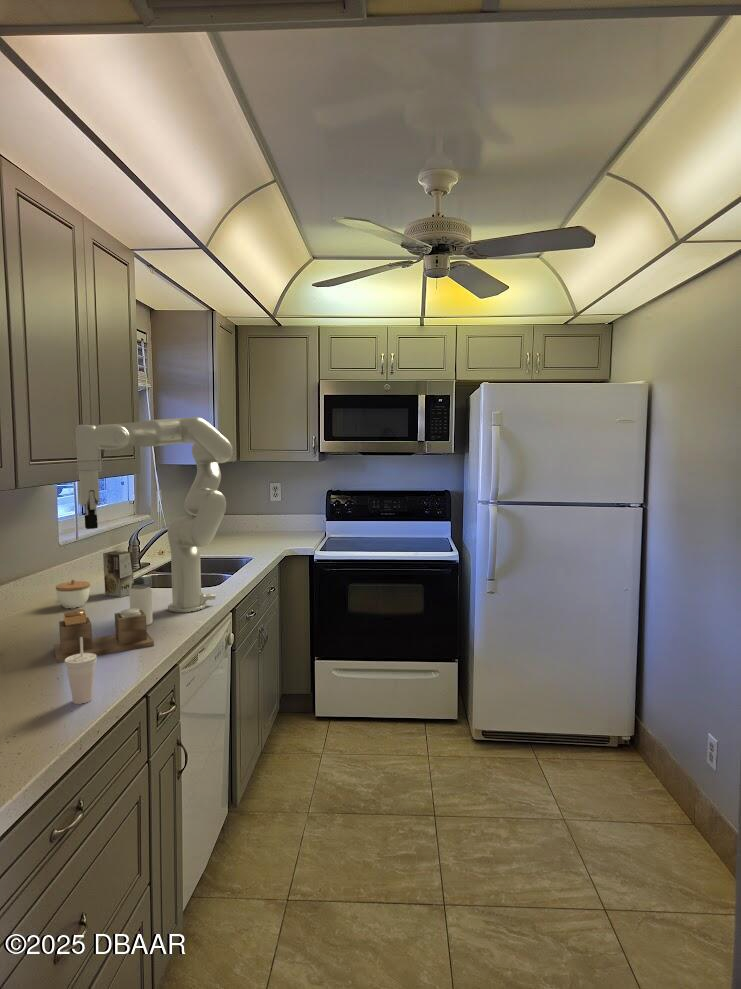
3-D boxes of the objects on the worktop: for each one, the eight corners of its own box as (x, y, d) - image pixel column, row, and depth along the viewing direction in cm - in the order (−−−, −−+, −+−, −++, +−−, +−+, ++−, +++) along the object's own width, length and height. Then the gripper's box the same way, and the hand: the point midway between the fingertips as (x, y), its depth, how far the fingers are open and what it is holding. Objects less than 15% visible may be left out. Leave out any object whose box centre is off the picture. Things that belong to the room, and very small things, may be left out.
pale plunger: (138, 633, 170) (137, 607, 169) (142, 637, 166) (141, 611, 165) (120, 636, 167) (119, 610, 167) (123, 641, 163) (122, 614, 162)
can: (145, 619, 189) (144, 583, 188) (156, 623, 185) (155, 586, 184) (126, 624, 184) (125, 586, 183) (137, 628, 180) (135, 590, 179)
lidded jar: (95, 606, 205) (93, 580, 204) (61, 612, 198) (60, 585, 197) (85, 600, 213) (84, 575, 212) (53, 606, 206) (51, 579, 205)
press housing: (145, 633, 174) (144, 606, 174) (154, 645, 164) (153, 616, 163) (54, 648, 162) (52, 619, 161) (57, 662, 151) (55, 631, 151)
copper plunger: (85, 635, 162) (83, 608, 162) (87, 640, 158) (85, 612, 157) (64, 638, 160) (63, 611, 159) (66, 643, 155) (65, 615, 155)
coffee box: (135, 593, 223) (133, 551, 221) (120, 597, 217) (119, 554, 216) (118, 591, 227) (116, 549, 225) (104, 594, 221) (102, 552, 220)
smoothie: (104, 694, 131) (101, 634, 130) (88, 707, 125) (85, 643, 124) (76, 694, 132) (73, 633, 131) (59, 706, 126) (56, 643, 124)
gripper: (70, 466, 177) (74, 526, 179) (76, 468, 165) (80, 532, 167) (97, 465, 181) (101, 524, 183) (105, 467, 169) (109, 530, 171)
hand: (91, 528), depth 175 cm, fingers closed
